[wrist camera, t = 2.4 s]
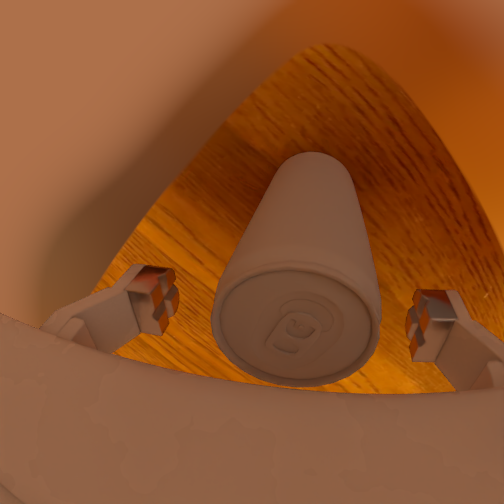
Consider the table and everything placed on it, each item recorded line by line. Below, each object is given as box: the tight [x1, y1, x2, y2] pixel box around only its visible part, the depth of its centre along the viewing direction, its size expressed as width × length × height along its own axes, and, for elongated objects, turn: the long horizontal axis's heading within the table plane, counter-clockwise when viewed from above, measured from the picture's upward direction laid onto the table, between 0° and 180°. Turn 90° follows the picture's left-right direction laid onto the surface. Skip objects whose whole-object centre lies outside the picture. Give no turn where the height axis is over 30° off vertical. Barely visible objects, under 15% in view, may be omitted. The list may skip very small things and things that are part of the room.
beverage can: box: [211, 152, 381, 387], centre depth 13 cm, size 5×5×12 cm
